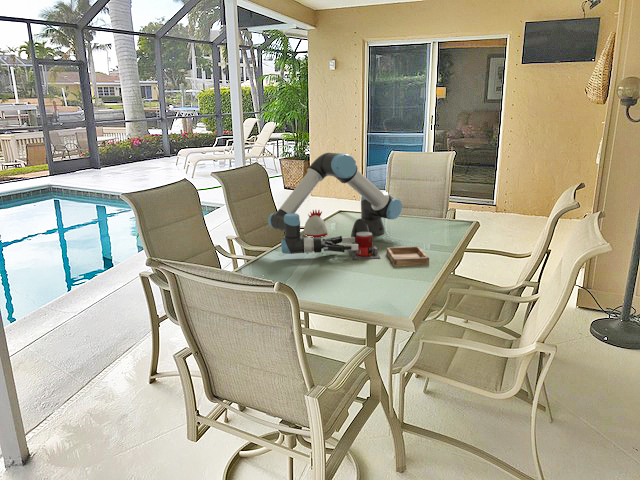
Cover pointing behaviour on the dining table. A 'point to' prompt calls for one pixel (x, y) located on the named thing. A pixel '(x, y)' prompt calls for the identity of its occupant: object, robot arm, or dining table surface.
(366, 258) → the frame
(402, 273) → the dining table surface
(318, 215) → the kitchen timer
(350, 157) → the robot arm
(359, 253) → the canned food
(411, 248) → the tray
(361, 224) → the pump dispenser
